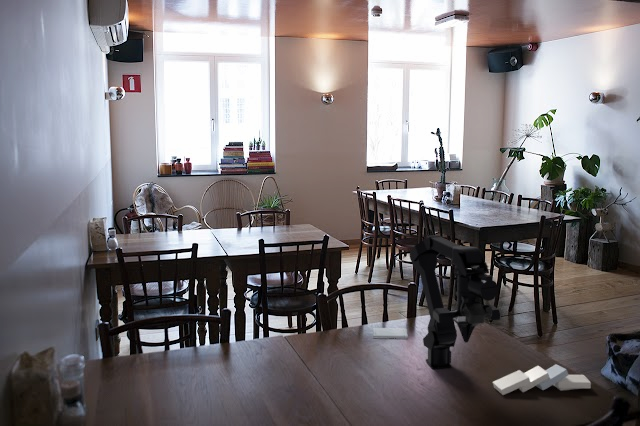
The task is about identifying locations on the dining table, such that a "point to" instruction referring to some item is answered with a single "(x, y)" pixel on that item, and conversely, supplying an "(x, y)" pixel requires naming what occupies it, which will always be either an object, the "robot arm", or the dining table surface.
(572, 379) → the domino
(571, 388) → the domino
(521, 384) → the domino
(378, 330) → the hard drive
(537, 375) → the domino
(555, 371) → the domino
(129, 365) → the dining table surface
